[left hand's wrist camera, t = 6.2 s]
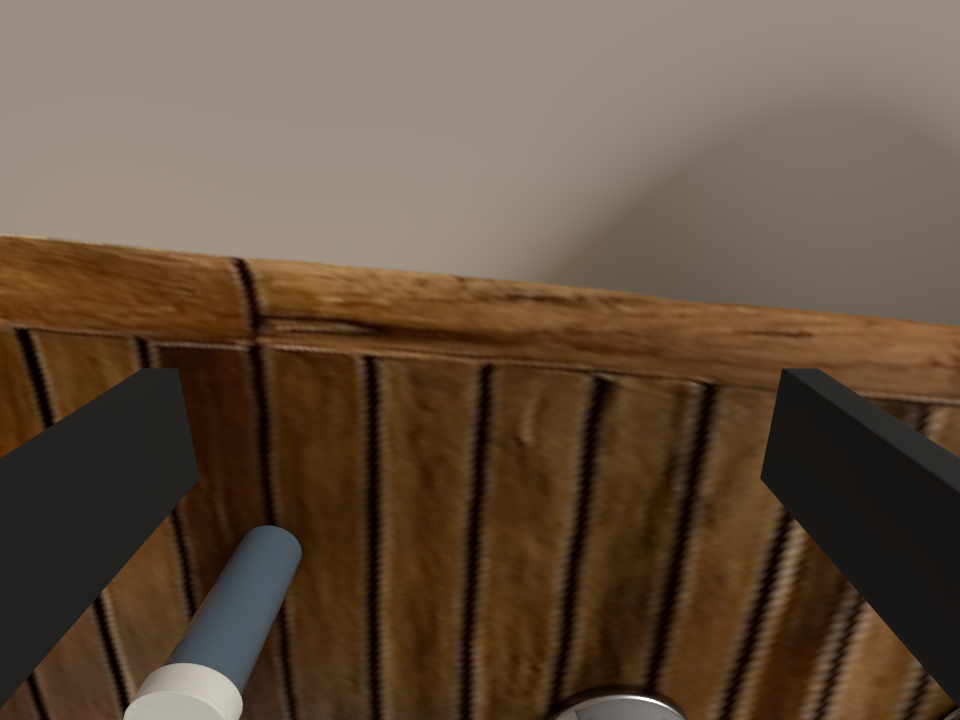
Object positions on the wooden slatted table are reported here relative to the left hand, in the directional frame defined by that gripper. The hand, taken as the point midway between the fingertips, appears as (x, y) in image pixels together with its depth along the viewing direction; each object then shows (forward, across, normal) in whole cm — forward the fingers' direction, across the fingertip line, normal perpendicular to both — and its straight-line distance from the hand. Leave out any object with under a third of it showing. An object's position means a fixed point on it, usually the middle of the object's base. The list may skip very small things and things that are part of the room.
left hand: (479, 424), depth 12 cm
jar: (+28, +18, +26) cm, 42 cm away
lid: (+12, +18, +26) cm, 34 cm away
